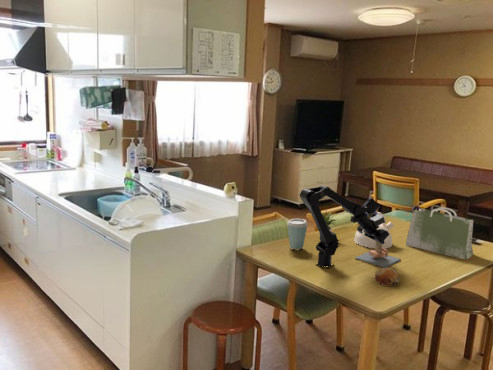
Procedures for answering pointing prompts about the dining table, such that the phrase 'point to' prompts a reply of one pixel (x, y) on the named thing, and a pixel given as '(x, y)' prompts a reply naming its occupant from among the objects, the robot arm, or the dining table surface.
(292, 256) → the dining table surface
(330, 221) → the house plant
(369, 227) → the robot arm
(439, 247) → the grocery bag
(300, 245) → the disposable coffee cup
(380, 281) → the bread roll
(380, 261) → the mat
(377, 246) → the cylinder on pink base
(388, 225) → the kettle
